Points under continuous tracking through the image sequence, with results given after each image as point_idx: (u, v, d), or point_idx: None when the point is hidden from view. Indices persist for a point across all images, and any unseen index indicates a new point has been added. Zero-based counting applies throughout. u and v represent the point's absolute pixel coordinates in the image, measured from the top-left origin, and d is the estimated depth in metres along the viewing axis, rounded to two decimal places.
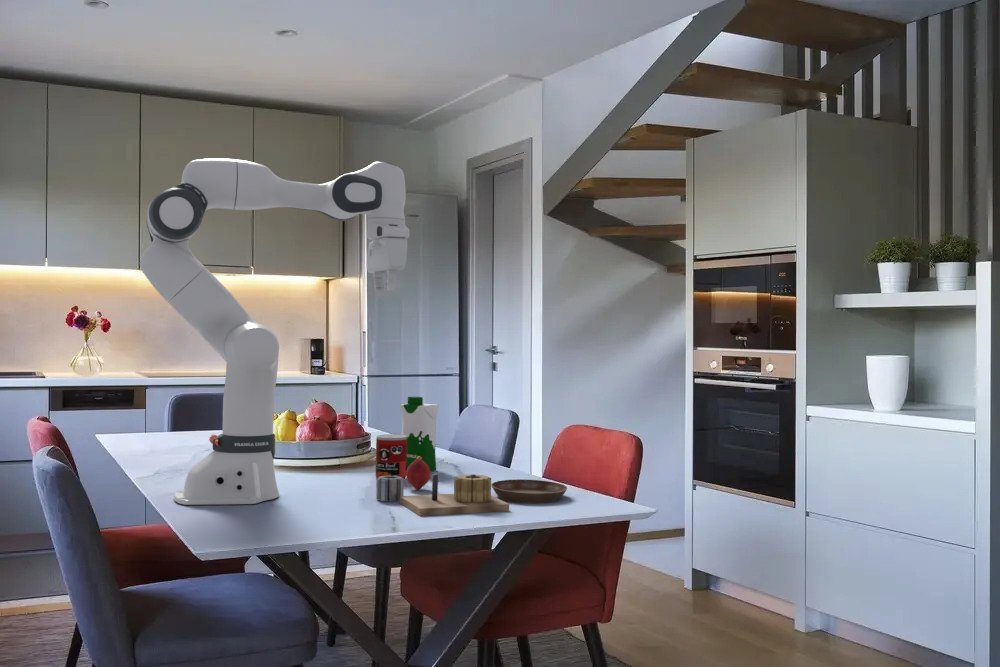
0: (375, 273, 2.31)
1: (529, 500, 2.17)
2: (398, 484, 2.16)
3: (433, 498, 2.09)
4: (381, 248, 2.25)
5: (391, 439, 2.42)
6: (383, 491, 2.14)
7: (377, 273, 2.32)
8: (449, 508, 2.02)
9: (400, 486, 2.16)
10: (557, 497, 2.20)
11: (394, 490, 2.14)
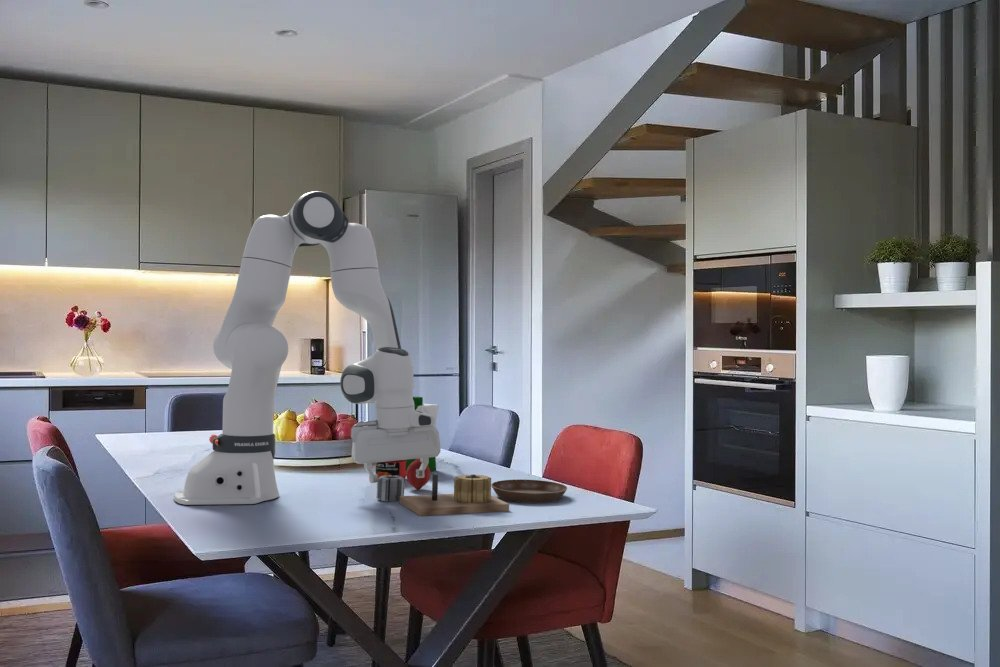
0: (371, 463, 2.15)
1: (529, 500, 2.17)
2: (399, 484, 2.16)
3: (433, 498, 2.09)
4: (405, 436, 2.18)
5: None
6: (383, 491, 2.14)
7: None
8: (449, 508, 2.02)
9: (401, 486, 2.16)
10: (557, 497, 2.20)
11: (394, 490, 2.14)
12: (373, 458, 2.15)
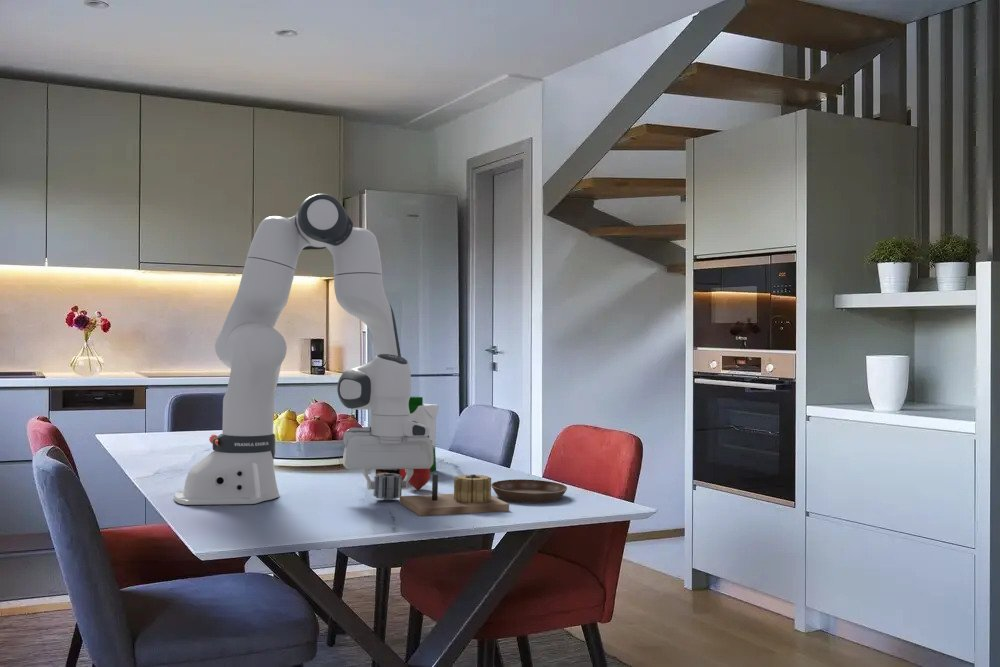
0: None
1: (529, 500, 2.17)
2: (396, 482, 2.14)
3: (433, 498, 2.09)
4: (398, 445, 2.15)
5: None
6: (380, 488, 2.13)
7: None
8: (449, 508, 2.02)
9: (398, 484, 2.14)
10: (557, 497, 2.20)
11: (391, 488, 2.13)
12: (363, 465, 2.12)
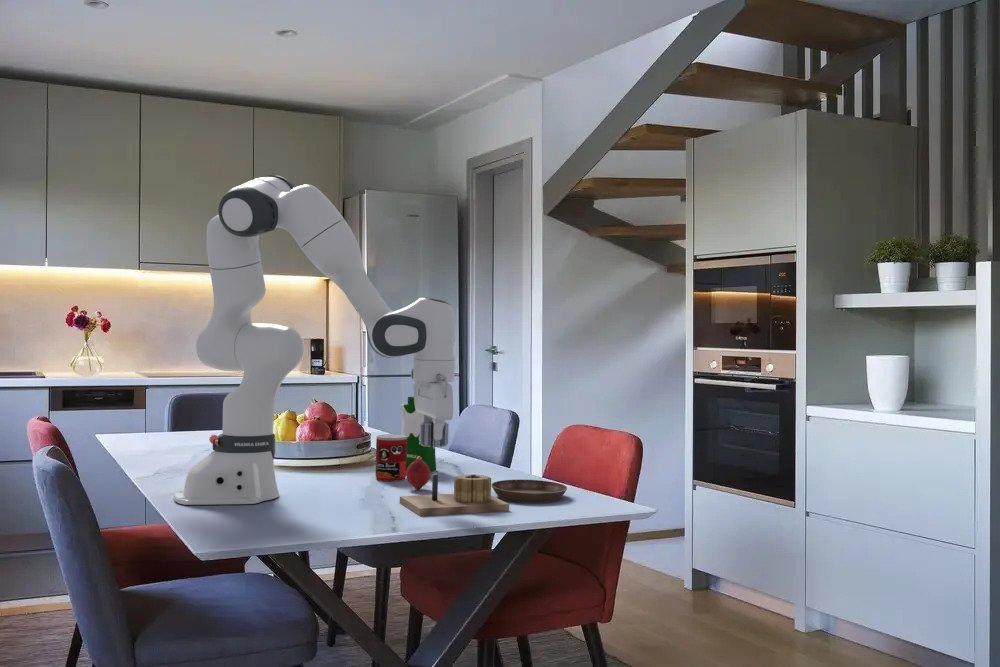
0: None
1: (529, 500, 2.17)
2: None
3: (433, 498, 2.09)
4: None
5: (391, 439, 2.42)
6: (446, 435, 2.07)
7: None
8: (449, 508, 2.02)
9: None
10: (557, 497, 2.20)
11: None
12: None
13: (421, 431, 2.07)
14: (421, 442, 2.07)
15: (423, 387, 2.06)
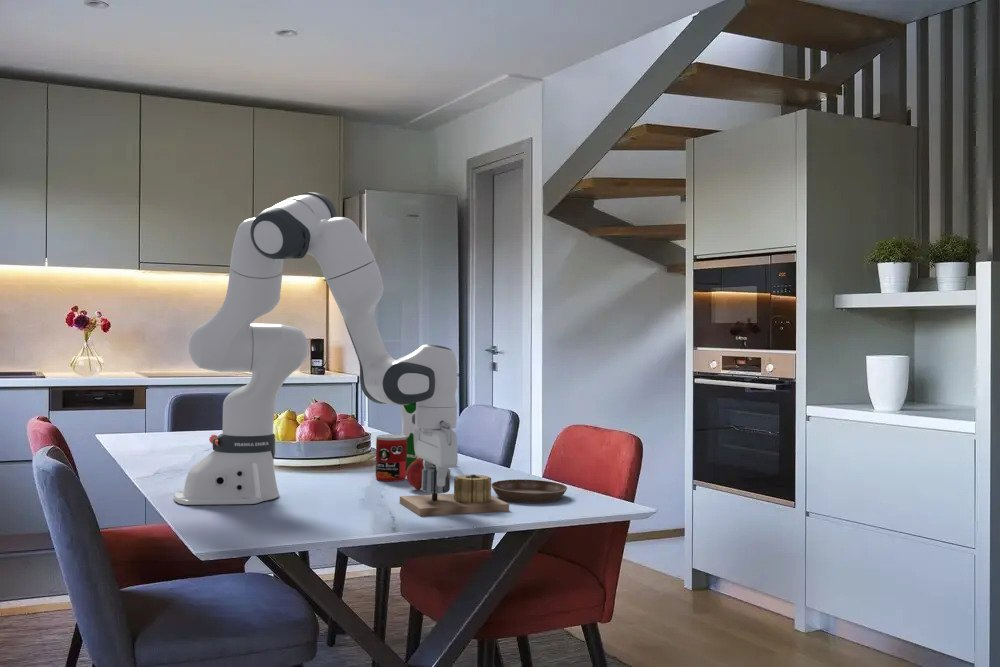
0: None
1: (529, 500, 2.17)
2: None
3: (433, 498, 2.09)
4: None
5: (391, 439, 2.42)
6: (448, 481, 2.08)
7: None
8: (449, 508, 2.02)
9: None
10: (557, 497, 2.20)
11: None
12: None
13: (423, 477, 2.08)
14: (423, 488, 2.08)
15: (426, 434, 2.07)
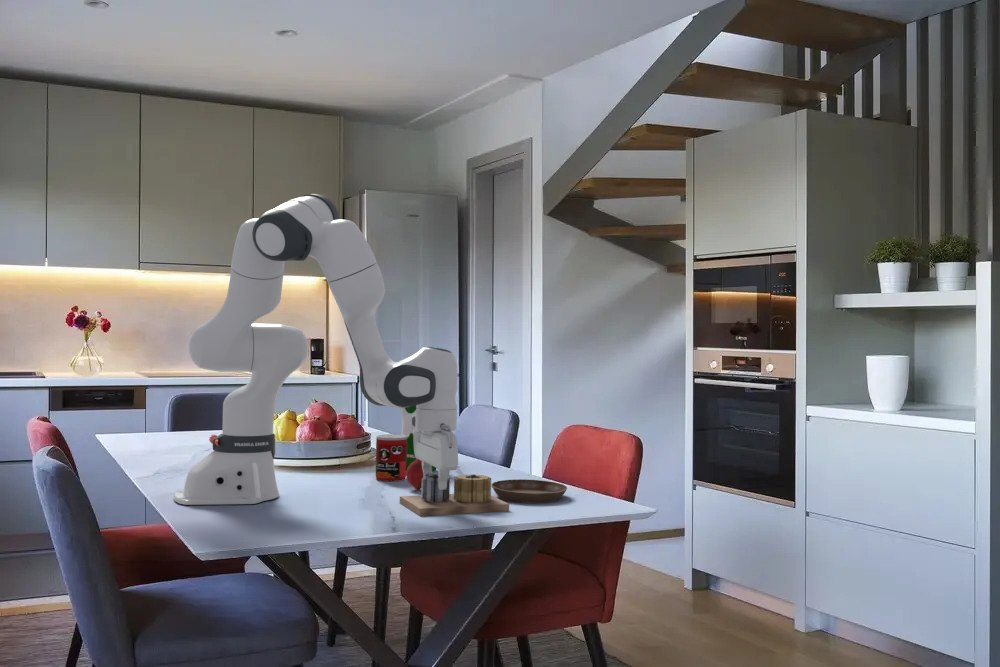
0: None
1: (529, 500, 2.17)
2: None
3: None
4: None
5: (391, 439, 2.42)
6: (448, 490, 2.08)
7: None
8: (449, 508, 2.02)
9: None
10: (557, 497, 2.20)
11: None
12: None
13: (423, 486, 2.08)
14: (423, 497, 2.08)
15: (426, 436, 2.07)
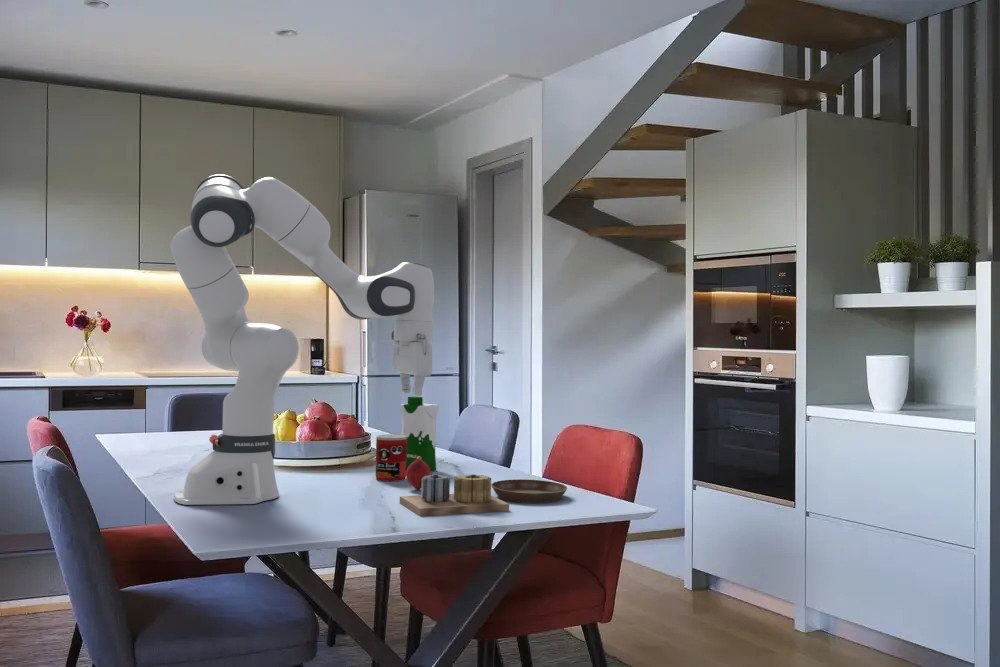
0: None
1: (529, 500, 2.17)
2: None
3: None
4: None
5: (391, 439, 2.42)
6: (448, 490, 2.08)
7: None
8: (449, 508, 2.02)
9: None
10: (557, 497, 2.20)
11: None
12: None
13: (423, 486, 2.08)
14: (423, 497, 2.08)
15: (403, 346, 2.19)
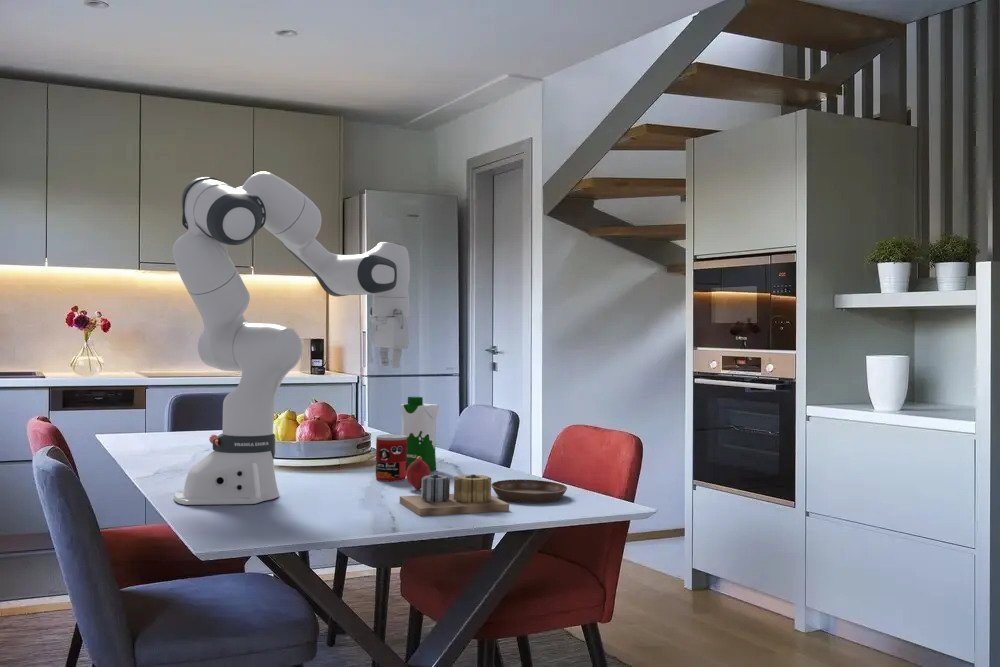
0: None
1: (529, 500, 2.17)
2: None
3: None
4: None
5: (391, 439, 2.42)
6: (448, 490, 2.08)
7: None
8: (449, 508, 2.02)
9: None
10: (557, 497, 2.20)
11: None
12: None
13: (423, 486, 2.08)
14: (423, 497, 2.08)
15: (381, 321, 2.32)
